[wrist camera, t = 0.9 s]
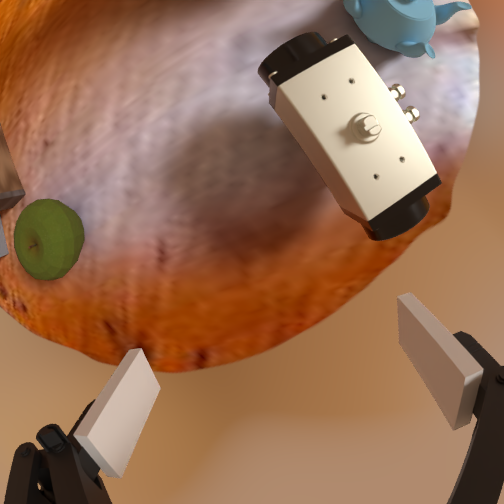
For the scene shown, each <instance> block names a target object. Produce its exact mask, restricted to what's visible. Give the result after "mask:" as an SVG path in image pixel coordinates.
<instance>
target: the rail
mask: <svg viewBox="0 0 504 504" xmlns="http://www.w3.org/2000/svg"><path fill="white" fill-rule="evenodd" d="M24 195H25V191H24V189H23V187H22V184H21V182H20V179H19V177H18V174H17V171H16V169H15V166H14V163H13V161H12V158H11V155H10V152H9V149H8V146H7V143H6V140H5V137H4V134H3V131H2V127H1V124H0V210H4V209H8V208H13V207H14V206H15V205H16V204H17V203H18V202H19V201H20V200H21V198H22V197H23V196H24Z"/></svg>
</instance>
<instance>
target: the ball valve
mask: <svg viewBox="0 0 504 504" xmlns="http://www.w3.org/2000/svg"><path fill="white" fill-rule="evenodd" d="M258 74H259V76H260V77H261V78H262V79H263V81H264V82H265V83H266V84H267V86H268V87H269V88H270V90H269V93H268V95H269V104H270V105H271V106H272V108H273V109H274V110H275V112H276V113H277V114H278V116H279V117H280V118H281V120H282V121H283V123H284V124H285V125H286V127H287V128H288V129H289V131H290V132H291V134H292V135H293V136H294V138H295V139H296V141H297V142H298V144H299V145H300V146H301V148H302V149H303V151H304V152H305V154H306V155H307V157H308V158H309V160H310V161H311V163H312V164H313V165H314V167H315V168H316V170H317V171H318V173H319V175H320V176H321V178H322V179H323V181H324V182H325V184H326V185H327V187H328V188H329V190H330V191H331V193H332V195H333V196H334V198H335V199H336V201H337V203H338V204H339V206H340V207H341V209H342V211H343V212H344V214H346V215H347V216H349V217H351V218H352V219H354V220H356V221H357V222H359V223H360V224H361V225H362V227H363V228H364V230H365V232H366V234H367V235H368V237H369V238H370V239H371V240H374V241H382V240H387V239H390V238H393V237H396V236H398V235H400V234H402V233H404V232H406V231H408V230H409V229H411V228H412V227H414V226H415V225H417V224H418V223H419V222H420V221H421V220H422V219H423V218H424V217H425V216H426V214H427V213H428V211H429V207H430V205H429V202H428V200H427V198H426V196H425V195H426V194H428V193H429V192H431V191H432V190H433V189H435V188H436V187H437V186H439V185H440V184H441V183H442V182H441V180H440V178H439V176H438V174H437V172H436V170H435V168H434V166H433V164H432V162H431V160H430V158H429V156H428V154H427V152H426V151H425V149H424V147H423V145H422V143H421V141H420V140H419V138H418V136H417V134H416V133H415V131H414V129H413V127H412V126H411V124H412V123H413V121H414V122H415V121H417V120H418V119H419V117H420V116H419V113H418V111H417V109H416V108H415V107H413V106H408V107H407V108H406V110H402V109H401V108H400V106H399V105H398V103H397V102H398V100H399V99H403V98H404V97H405V95H406V93H405V90H404V88H403V87H402V86H401V85H399V84H394V85H392V88H387V86H386V85H385V83H384V82H383V81H382V79H381V78H380V76H379V75H378V74H377V72H376V71H375V69H374V68H373V67H372V65H371V64H370V63H369V61H368V60H367V59H366V57H365V56H364V55H363V53H362V52H361V51H360V50H359V48H358V47H357V46H356V44H355V43H354V42H353V41H352V40H351V38H350V37H349V36H348V35H345V36H343V37H341V38H339V39H337V38H335V39H333V40H331V41H330V42H329V44H327V43H326V41H325V40H324V39H323V38H322V37H321V35H320V34H319V33H317V32H309V33H305V34H302V35H299V36H297V37H295V38H293V39H291V40H289V41H287V42H286V43H284V44H283V45H281V46H280V47H278V48H277V49H276V50H274V51H273V52H272V53H271V54H270V55H268V56H267V57H266V58H265V59H264V61H263V62H262V63H261V65H260V66H259V68H258Z"/></svg>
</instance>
